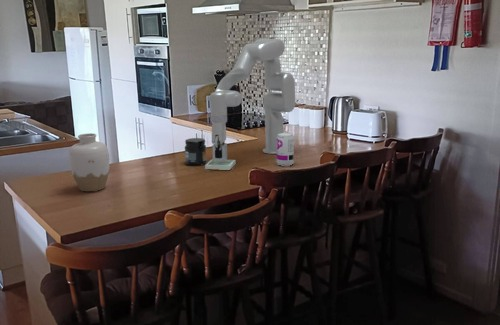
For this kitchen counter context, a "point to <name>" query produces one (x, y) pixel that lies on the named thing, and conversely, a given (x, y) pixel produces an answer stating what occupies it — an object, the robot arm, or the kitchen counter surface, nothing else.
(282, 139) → the supplement can
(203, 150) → the supplement container
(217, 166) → the tray
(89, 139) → the vase
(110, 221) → the kitchen counter surface
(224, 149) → the hollow metal cube
